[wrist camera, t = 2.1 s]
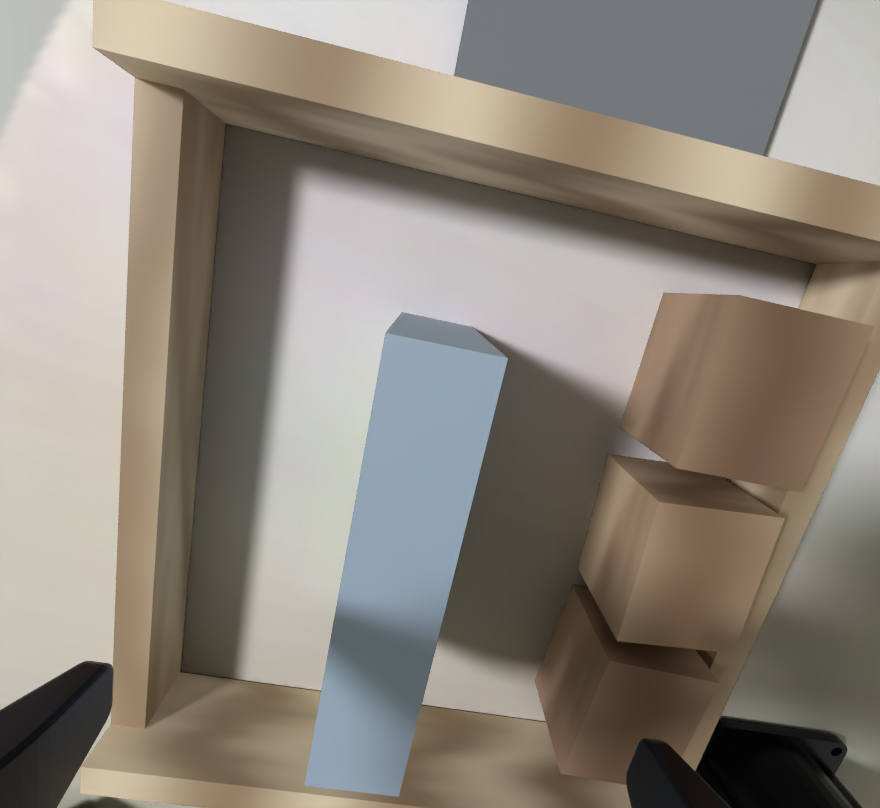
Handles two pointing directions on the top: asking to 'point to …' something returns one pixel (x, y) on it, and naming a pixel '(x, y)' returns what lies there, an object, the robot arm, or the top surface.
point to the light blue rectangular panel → (403, 548)
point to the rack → (185, 349)
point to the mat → (645, 59)
